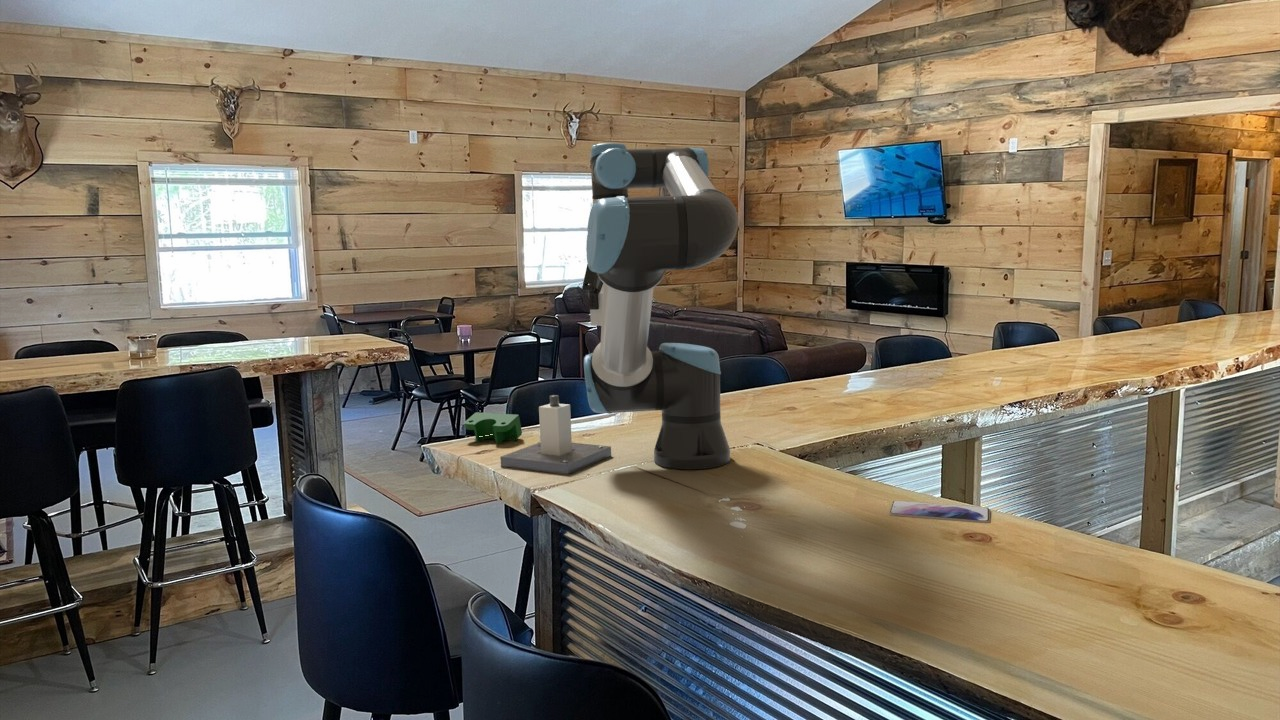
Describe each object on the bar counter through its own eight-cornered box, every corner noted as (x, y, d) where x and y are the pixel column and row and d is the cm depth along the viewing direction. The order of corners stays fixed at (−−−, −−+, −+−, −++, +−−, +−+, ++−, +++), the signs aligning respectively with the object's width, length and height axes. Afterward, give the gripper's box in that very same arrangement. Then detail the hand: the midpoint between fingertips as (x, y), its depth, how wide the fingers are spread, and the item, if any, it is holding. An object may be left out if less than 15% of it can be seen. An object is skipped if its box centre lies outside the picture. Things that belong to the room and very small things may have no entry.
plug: (572, 457, 188) (569, 394, 186) (559, 462, 184) (557, 398, 182) (553, 455, 190) (551, 393, 188) (541, 460, 186) (538, 397, 184)
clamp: (477, 460, 208) (456, 426, 206) (490, 448, 213) (470, 414, 212) (516, 444, 202) (495, 409, 201) (529, 432, 207) (508, 397, 206)
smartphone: (990, 521, 141) (888, 513, 146) (990, 526, 141) (888, 518, 146) (990, 507, 147) (892, 499, 152) (990, 512, 147) (892, 504, 152)
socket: (611, 456, 190) (610, 443, 190) (567, 474, 176) (567, 460, 176) (547, 449, 198) (546, 436, 197) (500, 466, 184) (500, 453, 184)
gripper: (625, 220, 204) (628, 316, 207) (562, 221, 183) (566, 327, 186) (655, 219, 201) (658, 317, 204) (594, 219, 179) (598, 328, 182)
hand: (614, 322), depth 195 cm, fingers open, 13 cm apart
